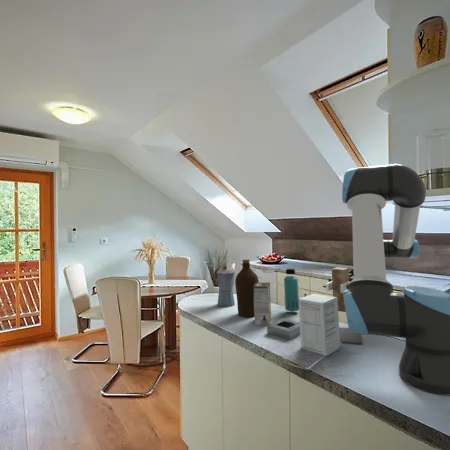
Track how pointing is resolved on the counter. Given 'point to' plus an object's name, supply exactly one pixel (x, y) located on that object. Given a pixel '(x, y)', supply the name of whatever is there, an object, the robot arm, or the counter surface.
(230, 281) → the moka pot
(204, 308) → the counter surface
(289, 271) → the beverage bottle
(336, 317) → the supplement box
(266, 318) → the coffee box
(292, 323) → the post base
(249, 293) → the olive oil
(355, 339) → the rubber mat
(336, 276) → the wooden peg
